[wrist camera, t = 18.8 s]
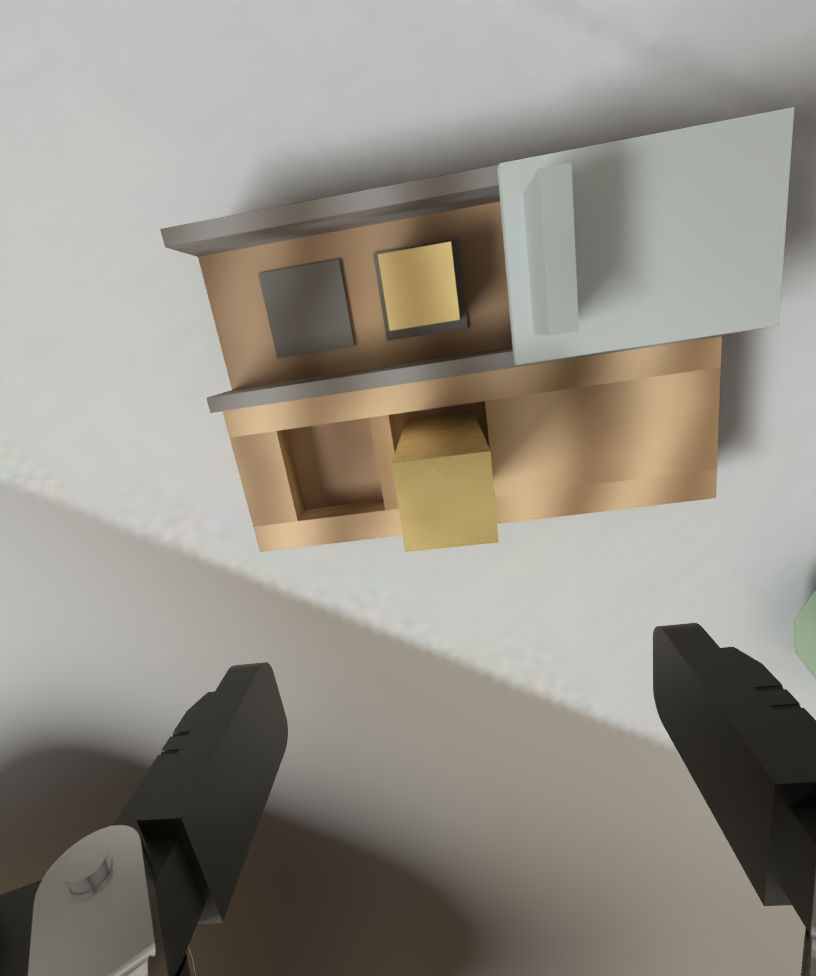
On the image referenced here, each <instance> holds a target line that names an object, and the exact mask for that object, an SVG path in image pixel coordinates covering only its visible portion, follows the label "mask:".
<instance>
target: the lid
mask: <svg viewBox="0 0 816 976" xmlns="http://www.w3.org/2000/svg"><path fill="white" fill-rule="evenodd" d="M793 120H794V107H792V108H786V109H781V110H776V111H771V112H765V113H760V114H755V115H750V116H744V117H739V118H734V119H729V120H723V121H718V122H713V123H708V124H702V125H697V126H692V127H687V128H681V129H676V130H671V131H666V132H660V133H655V134H650V135H645V136H639V137H634V138H629V139H624V140H618V141H613V142H608V143H603V144H597V145H592V146H587V147H582V148H577V149H571V150H566V151H561V152H556V153H550V154H545V155H540V156H535V157H529V158H524V159H519V160H514V161H508V162H503V163H499V166H498V169H497V170H498V182H499V194H500V205H501V217H502V229H503V240H504V252H505V264H506V276H507V287H508V299H509V311H510V323H511V334H512V346H513V358H514V364H515V365H520V364H526V363H533V362H540V361H546V360H553V359H560V358H566V357H573V356H580V355H586V354H593V353H600V352H606V351H613V350H620V349H627V348H633V347H640V346H647V345H653V344H660V343H667V342H673V341H680V340H687V339H693V338H700V337H707V336H713V335H720V334H727V333H733V332H740V331H747V330H753V329H760V328H767V327H773V326H779V318H780V304H781V289H782V275H783V261H784V247H785V233H786V219H787V205H788V190H789V176H790V162H791V148H792V134H793Z"/></svg>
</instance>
